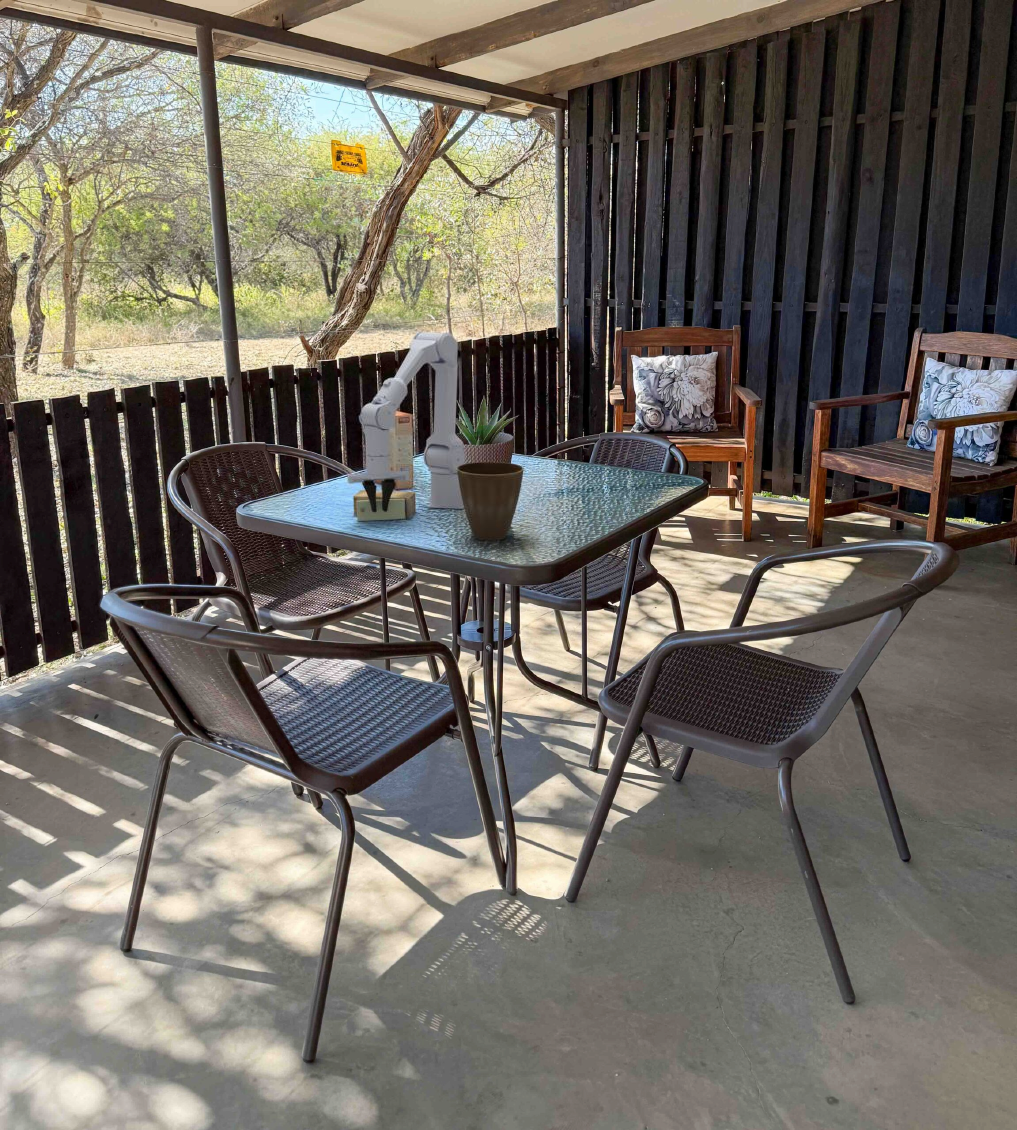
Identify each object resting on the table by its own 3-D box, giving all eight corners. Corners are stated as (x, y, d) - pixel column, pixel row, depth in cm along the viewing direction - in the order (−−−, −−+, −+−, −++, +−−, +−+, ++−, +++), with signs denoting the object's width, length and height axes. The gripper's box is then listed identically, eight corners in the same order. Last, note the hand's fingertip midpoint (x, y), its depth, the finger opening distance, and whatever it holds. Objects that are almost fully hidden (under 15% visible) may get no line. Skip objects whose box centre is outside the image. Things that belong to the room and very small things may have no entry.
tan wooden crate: (415, 511, 241) (415, 492, 239) (409, 518, 234) (409, 498, 233) (361, 509, 242) (360, 490, 241) (354, 516, 236) (353, 496, 234)
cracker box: (415, 488, 268) (413, 413, 262) (395, 490, 265) (394, 415, 259) (391, 480, 279) (389, 408, 273) (373, 482, 276) (370, 409, 270)
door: (411, 517, 234) (410, 497, 233) (412, 519, 232) (411, 499, 231) (357, 520, 231) (356, 500, 230) (358, 522, 229) (357, 501, 228)
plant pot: (531, 543, 213) (532, 472, 208) (466, 547, 208) (466, 475, 204) (512, 527, 226) (512, 460, 222) (450, 531, 222) (450, 463, 218)
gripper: (403, 450, 231) (404, 505, 235) (343, 453, 226) (345, 509, 230) (411, 455, 225) (412, 511, 229) (350, 458, 220) (352, 515, 224)
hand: (379, 511), depth 229 cm, fingers closed
